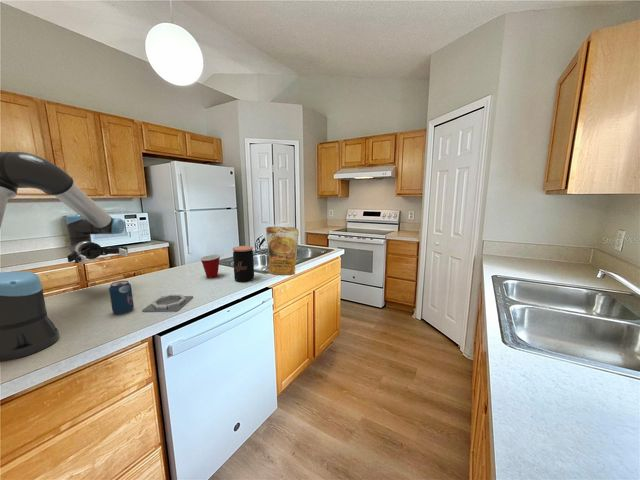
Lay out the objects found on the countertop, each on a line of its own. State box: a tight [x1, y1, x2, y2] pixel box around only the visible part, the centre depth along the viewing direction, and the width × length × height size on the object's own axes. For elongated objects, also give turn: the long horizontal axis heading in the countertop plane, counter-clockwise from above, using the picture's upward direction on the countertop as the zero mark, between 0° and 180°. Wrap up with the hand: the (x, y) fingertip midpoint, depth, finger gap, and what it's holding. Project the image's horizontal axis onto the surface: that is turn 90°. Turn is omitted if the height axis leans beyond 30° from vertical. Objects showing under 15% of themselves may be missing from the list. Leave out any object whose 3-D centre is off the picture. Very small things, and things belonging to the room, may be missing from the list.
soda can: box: [108, 280, 135, 315], centre depth 103 cm, size 7×7×12 cm
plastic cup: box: [199, 254, 221, 279], centre depth 146 cm, size 11×11×12 cm
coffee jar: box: [232, 245, 255, 283], centre depth 141 cm, size 11×11×18 cm
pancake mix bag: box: [265, 226, 299, 276], centre depth 150 cm, size 7×19×28 cm, turn 80°
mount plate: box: [141, 294, 194, 313], centre depth 110 cm, size 14×14×2 cm
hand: (106, 256), depth 105 cm, fingers open, 13 cm apart
